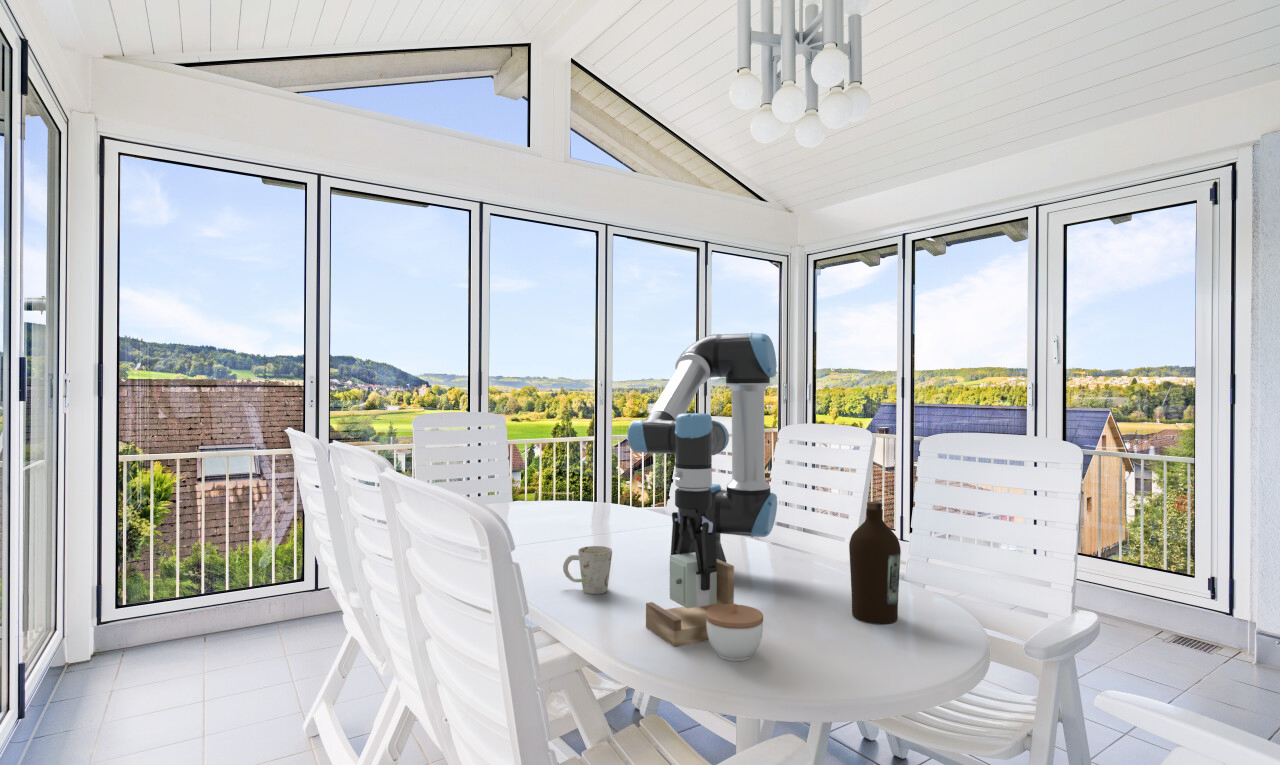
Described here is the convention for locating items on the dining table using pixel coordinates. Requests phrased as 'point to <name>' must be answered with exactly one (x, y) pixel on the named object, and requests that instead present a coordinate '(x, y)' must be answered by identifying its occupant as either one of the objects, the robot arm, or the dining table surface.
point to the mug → (592, 568)
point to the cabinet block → (688, 580)
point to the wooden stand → (690, 613)
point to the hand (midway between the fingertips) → (692, 599)
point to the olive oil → (874, 569)
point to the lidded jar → (734, 630)
